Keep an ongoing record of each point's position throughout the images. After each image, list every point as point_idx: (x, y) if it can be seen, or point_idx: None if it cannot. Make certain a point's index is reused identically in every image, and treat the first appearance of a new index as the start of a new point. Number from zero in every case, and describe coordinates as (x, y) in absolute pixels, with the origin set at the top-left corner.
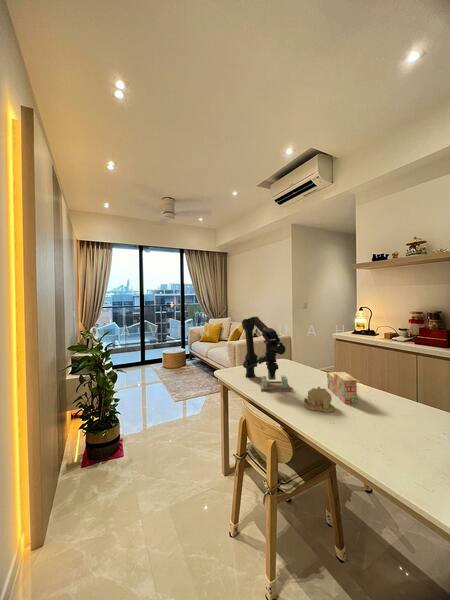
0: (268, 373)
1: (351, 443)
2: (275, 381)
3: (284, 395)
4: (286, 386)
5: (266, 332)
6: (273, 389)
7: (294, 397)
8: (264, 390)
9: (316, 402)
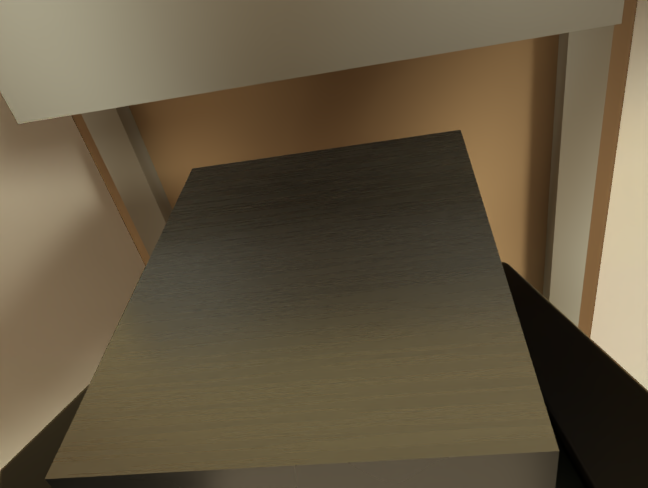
0: (135, 351)
1: None
2: (577, 223)
3: (9, 323)
4: None
5: None
6: (103, 179)
7: (12, 417)
8: None
9: None
